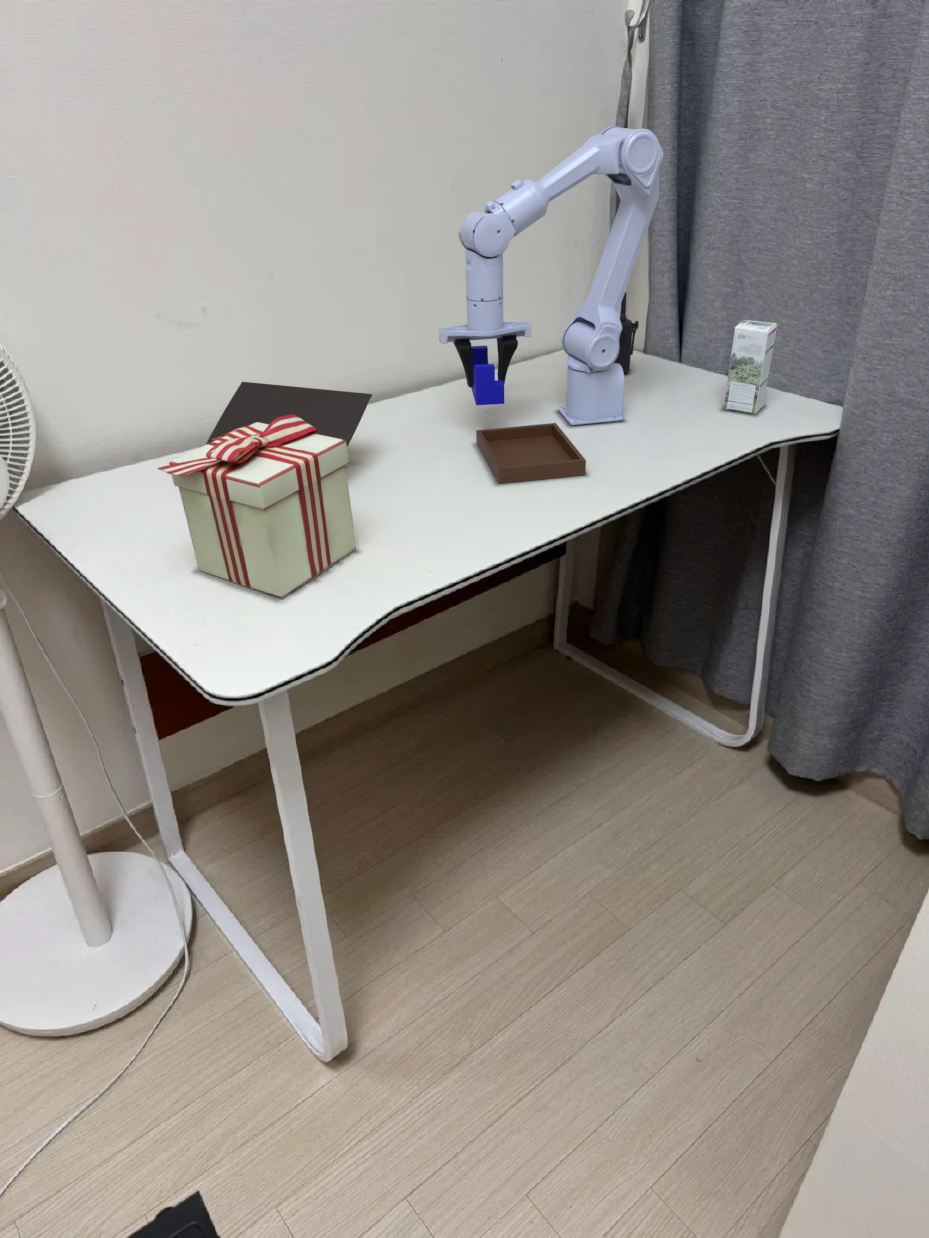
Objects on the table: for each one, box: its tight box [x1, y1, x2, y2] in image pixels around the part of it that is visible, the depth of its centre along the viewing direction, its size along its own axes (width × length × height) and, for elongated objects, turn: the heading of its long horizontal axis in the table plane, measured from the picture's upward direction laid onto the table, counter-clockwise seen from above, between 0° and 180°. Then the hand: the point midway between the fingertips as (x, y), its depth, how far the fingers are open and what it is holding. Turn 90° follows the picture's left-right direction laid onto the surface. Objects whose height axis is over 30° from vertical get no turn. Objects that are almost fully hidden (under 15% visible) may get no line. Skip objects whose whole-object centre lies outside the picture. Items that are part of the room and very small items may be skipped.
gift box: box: [157, 414, 357, 599], centre depth 104 cm, size 17×18×17 cm
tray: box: [475, 422, 587, 485], centre depth 134 cm, size 13×16×2 cm
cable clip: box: [470, 345, 505, 406], centre depth 139 cm, size 12×4×6 cm, turn 5°
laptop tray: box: [205, 381, 373, 448], centre depth 130 cm, size 23×23×9 cm
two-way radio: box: [614, 291, 640, 375], centre depth 167 cm, size 6×4×15 cm
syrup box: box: [723, 319, 778, 415], centre depth 148 cm, size 6×6×14 cm
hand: (486, 384), depth 140 cm, fingers closed on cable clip, 4 cm apart
